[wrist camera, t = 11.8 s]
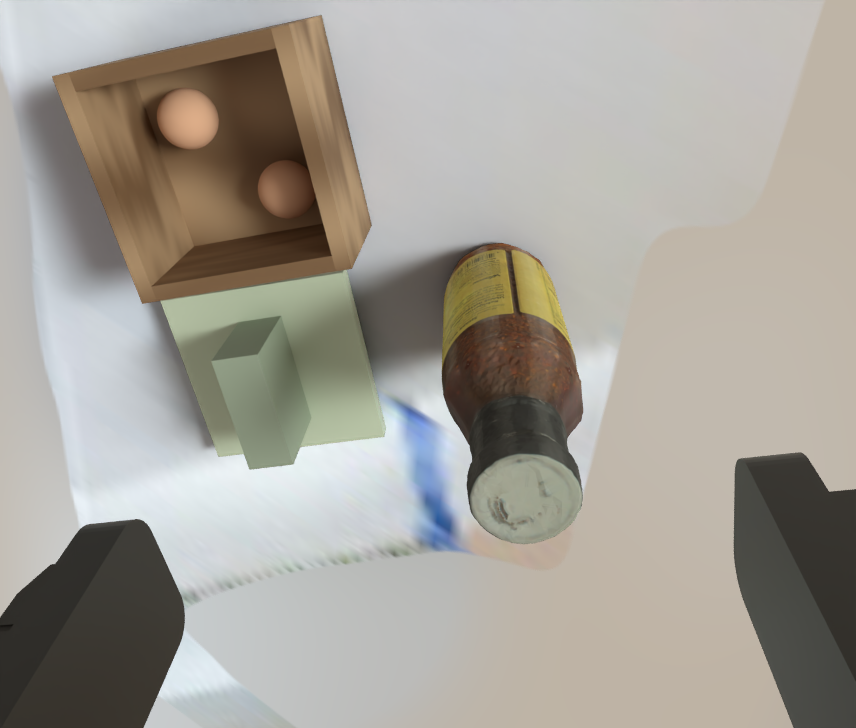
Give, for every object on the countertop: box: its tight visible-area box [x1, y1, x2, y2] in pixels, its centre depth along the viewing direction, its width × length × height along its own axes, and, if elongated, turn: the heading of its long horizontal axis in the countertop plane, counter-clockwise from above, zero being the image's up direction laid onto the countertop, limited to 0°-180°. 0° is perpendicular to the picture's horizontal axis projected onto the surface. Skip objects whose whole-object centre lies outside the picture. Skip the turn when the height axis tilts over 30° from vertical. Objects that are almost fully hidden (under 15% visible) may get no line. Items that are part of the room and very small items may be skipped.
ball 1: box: [157, 88, 219, 150], centre depth 38 cm, size 3×3×3 cm
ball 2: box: [258, 160, 315, 219], centre depth 40 cm, size 3×3×3 cm
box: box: [52, 15, 372, 304], centre depth 38 cm, size 11×11×7 cm
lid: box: [161, 270, 386, 469], centre depth 44 cm, size 11×11×7 cm
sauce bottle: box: [442, 243, 583, 544], centre depth 35 cm, size 6×6×20 cm
